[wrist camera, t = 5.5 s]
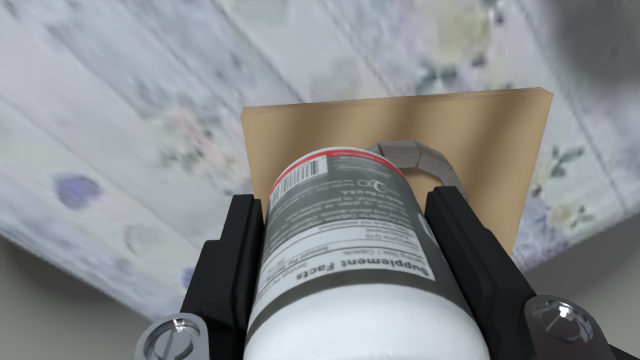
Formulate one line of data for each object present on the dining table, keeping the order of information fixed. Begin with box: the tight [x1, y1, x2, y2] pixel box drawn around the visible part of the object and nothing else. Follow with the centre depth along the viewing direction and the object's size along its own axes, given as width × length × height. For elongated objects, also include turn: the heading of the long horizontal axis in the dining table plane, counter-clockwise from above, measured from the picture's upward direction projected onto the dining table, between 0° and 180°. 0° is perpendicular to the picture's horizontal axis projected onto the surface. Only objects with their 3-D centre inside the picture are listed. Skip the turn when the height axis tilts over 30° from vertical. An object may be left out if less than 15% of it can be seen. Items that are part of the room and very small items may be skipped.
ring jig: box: [241, 87, 553, 257], centre depth 27 cm, size 20×14×4 cm
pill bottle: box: [243, 147, 491, 360], centre depth 9 cm, size 5×5×8 cm
